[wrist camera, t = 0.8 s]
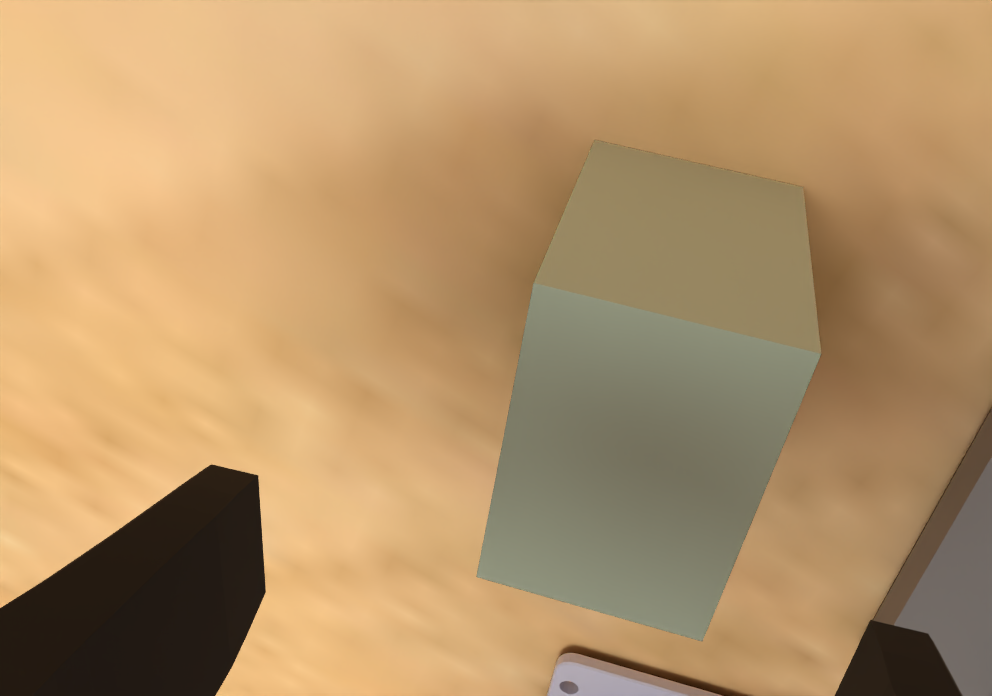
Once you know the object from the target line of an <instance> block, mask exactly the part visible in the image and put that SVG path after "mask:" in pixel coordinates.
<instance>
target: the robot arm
mask: <svg viewBox="0 0 992 696" xmlns="http://www.w3.org/2000/svg"><path fill="white" fill-rule="evenodd" d="M265 592H266V590H265V574H264V559H263V543H262V528H261V513H260V497H259V482H258V475H254V474H250V473H245V472H241V471H237V470H233V469H228V468H224V467H220V466H216V465H210V466H208V467H207V468H205V469H204V470H202V471H201V472H199V473H198V474H197V475H195V476H194V477H192V478H191V479H189V480H188V481H186V482H185V483H184V484H182V485H181V486H179V487H178V488H177V489H175V490H174V491H172V492H171V493H170V494H168V495H167V496H165V497H164V498H163V499H161V500H160V501H158V502H157V503H156V504H154V505H153V506H151V507H150V508H149V509H147V510H146V511H144V512H143V513H142V514H140V515H139V516H137V517H136V518H135V519H133V520H132V521H130V522H129V523H127V524H126V525H125V526H123V527H122V528H120V529H119V530H118V531H116V532H115V533H113V534H112V535H110V536H109V537H108V538H106V539H105V540H103V541H102V542H100V543H99V544H97V545H96V546H94V547H93V548H91V549H90V550H89V551H87V552H86V553H84V554H83V555H81V556H80V557H78V558H77V559H75V560H74V561H72V562H71V563H69V564H68V565H67V566H65V567H64V568H62V569H61V570H59V571H58V572H56V573H55V574H53V575H52V576H50V577H49V578H47V579H46V580H44V581H43V582H41V583H40V584H38V585H37V586H35V587H33V588H32V589H30V590H29V591H27V592H25V593H24V594H22V595H21V596H19V597H17V598H16V599H14V600H13V601H11V602H9V603H8V604H6V605H5V606H3V607H1V608H0V696H215V695H216V693H217V692H218V690H219V688H220V687H221V685H222V683H223V681H224V680H225V678H226V676H227V675H228V673H229V671H230V669H231V668H232V666H233V663H234V661H235V659H236V657H237V655H238V653H239V651H240V648H241V646H242V644H243V642H244V640H245V638H246V636H247V633H248V631H249V629H250V627H251V624H252V622H253V620H254V617H255V615H256V613H257V611H258V608H259V606H260V604H261V601H262V599H263V597H264V595H265ZM569 681H571V682H569ZM547 696H722V695H719V694H716V693H712V692H709V691H705V690H702V689H698V688H695V687H691V686H688V685H684V684H681V683H677V682H674V681H671V680H667V679H664V678H660V677H657V676H653V675H650V674H646V673H643V672H639V671H636V670H633V669H629V668H626V667H622V666H619V665H615V664H612V663H608V662H605V661H601V660H598V659H595V658H591V657H588V656H584V655H581V654H577V653H566V654H563V655H561V656H559V658H558V659H557V661H556V665H555V668H554V672H553V675H552V679H551V682H550V686H549V689H548V693H547ZM835 696H963V695H962V694H961V692H960V690H959V688H958V686H957V684H956V682H955V681H954V679H953V677H952V675H951V673H950V671H949V669H948V667H947V666H946V664H945V662H944V660H943V658H942V656H941V654H940V652H939V651H938V649H937V647H936V645H935V643H934V642H933V640H932V639H931V637H930V636H929V634H928V633H924V632H920V631H916V630H911V629H907V628H903V627H899V626H894V625H890V624H886V623H882V622H877V621H873V620H870V622H869V624H868V626H867V629H866V631H865V633H864V635H863V637H862V639H861V641H860V643H859V646H858V648H857V650H856V652H855V654H854V656H853V658H852V660H851V662H850V665H849V667H848V669H847V671H846V673H845V675H844V677H843V679H842V681H841V684H840V686H839V688H838V690H837V692H836V694H835Z"/></svg>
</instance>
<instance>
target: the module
mask: <svg viewBox="0 0 992 696" xmlns="http://www.w3.org/2000/svg"><path fill="white" fill-rule="evenodd" d="M820 356H821V346H820V337H819V327H818V318H817V309H816V300H815V291H814V281H813V272H812V263H811V254H810V245H809V235H808V226H807V217H806V208H805V198H804V189H803V187H801V186H797V185H792V184H788V183H784V182H779V181H775V180H770V179H766V178H761V177H757V176H753V175H748V174H744V173H739V172H735V171H731V170H726V169H722V168H717V167H713V166H708V165H704V164H700V163H695V162H691V161H686V160H682V159H677V158H673V157H669V156H664V155H660V154H655V153H651V152H646V151H642V150H638V149H633V148H629V147H624V146H620V145H616V144H611V143H607V142H602V141H598V140H594V142H593V145H592V147H591V149H590V152H589V154H588V156H587V159H586V161H585V163H584V166H583V168H582V170H581V173H580V175H579V177H578V180H577V182H576V185H575V187H574V189H573V192H572V194H571V196H570V199H569V201H568V203H567V206H566V208H565V210H564V213H563V215H562V217H561V220H560V222H559V224H558V227H557V229H556V231H555V234H554V236H553V238H552V241H551V243H550V246H549V248H548V250H547V253H546V255H545V257H544V260H543V262H542V264H541V267H540V269H539V271H538V274H537V276H536V278H535V281H534V283H533V288H532V294H531V299H530V304H529V309H528V314H527V319H526V324H525V330H524V335H523V340H522V345H521V350H520V355H519V360H518V366H517V371H516V376H515V381H514V386H513V391H512V397H511V402H510V407H509V412H508V417H507V422H506V427H505V433H504V438H503V443H502V448H501V453H500V458H499V463H498V469H497V474H496V479H495V484H494V489H493V494H492V499H491V505H490V510H489V515H488V520H487V525H486V530H485V535H484V541H483V546H482V551H481V556H480V561H479V566H478V571H477V577H478V578H482V579H485V580H489V581H492V582H496V583H499V584H503V585H506V586H510V587H513V588H517V589H520V590H524V591H527V592H531V593H534V594H538V595H541V596H545V597H548V598H552V599H555V600H559V601H562V602H566V603H569V604H573V605H576V606H580V607H583V608H587V609H590V610H594V611H597V612H601V613H604V614H608V615H611V616H615V617H618V618H622V619H625V620H629V621H632V622H636V623H639V624H643V625H646V626H650V627H653V628H657V629H660V630H664V631H667V632H671V633H674V634H678V635H681V636H685V637H688V638H692V639H695V640H699V641H703V638H704V636H705V634H706V631H707V629H708V626H709V624H710V622H711V619H712V617H713V614H714V612H715V609H716V607H717V605H718V602H719V600H720V597H721V595H722V593H723V590H724V588H725V585H726V583H727V581H728V578H729V576H730V573H731V571H732V568H733V566H734V564H735V561H736V559H737V556H738V554H739V552H740V549H741V547H742V544H743V542H744V539H745V537H746V535H747V532H748V530H749V527H750V525H751V523H752V520H753V518H754V515H755V513H756V511H757V508H758V506H759V503H760V501H761V498H762V496H763V494H764V491H765V489H766V486H767V484H768V482H769V479H770V477H771V474H772V472H773V469H774V467H775V465H776V462H777V460H778V457H779V455H780V453H781V450H782V448H783V445H784V443H785V441H786V438H787V436H788V433H789V431H790V428H791V426H792V424H793V421H794V419H795V416H796V414H797V412H798V409H799V407H800V404H801V402H802V399H803V397H804V395H805V392H806V390H807V387H808V385H809V383H810V380H811V378H812V375H813V373H814V370H815V368H816V366H817V363H818V361H819V358H820Z"/></svg>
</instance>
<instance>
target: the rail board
mask: <svg viewBox="0 0 992 696" xmlns="http://www.w3.org/2000/svg"><path fill="white" fill-rule="evenodd" d="M873 621H877V622H882V623H886V624H890V625H894V626H899V627H903V628H907V629H911V630H916V631H920V632H924V633H928V634H929V636H930V637H931V639H932V640H933V642H934V643H935V645H936V647H937V649H938V651H939V652H940V654H941V656H942V658H943V660H944V662H945V664H946V666H947V667H948V669H949V671H950V673H951V675H952V677H953V679H954V681H955V682H956V684H957V686H958V688H959V690H960V692H961V694H962V695H963V696H992V409H991V411H990V412H989V414H988V416H987V418H986V420H985V421H984V423H983V425H982V427H981V428H980V430H979V432H978V434H977V436H976V437H975V439H974V441H973V443H972V445H971V446H970V448H969V450H968V452H967V453H966V455H965V457H964V459H963V461H962V462H961V464H960V466H959V468H958V470H957V471H956V473H955V475H954V477H953V478H952V480H951V482H950V484H949V486H948V487H947V489H946V491H945V493H944V494H943V496H942V498H941V500H940V502H939V503H938V505H937V507H936V509H935V511H934V512H933V514H932V516H931V518H930V519H929V521H928V523H927V525H926V527H925V528H924V530H923V532H922V534H921V535H920V537H919V539H918V541H917V543H916V544H915V546H914V548H913V550H912V552H911V553H910V555H909V557H908V559H907V560H906V562H905V564H904V566H903V568H902V569H901V571H900V573H899V575H898V576H897V578H896V580H895V582H894V584H893V585H892V587H891V589H890V591H889V593H888V594H887V596H886V598H885V600H884V601H883V603H882V605H881V607H880V609H879V610H878V612H877V614H876V616H875V617H874V619H873Z"/></svg>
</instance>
